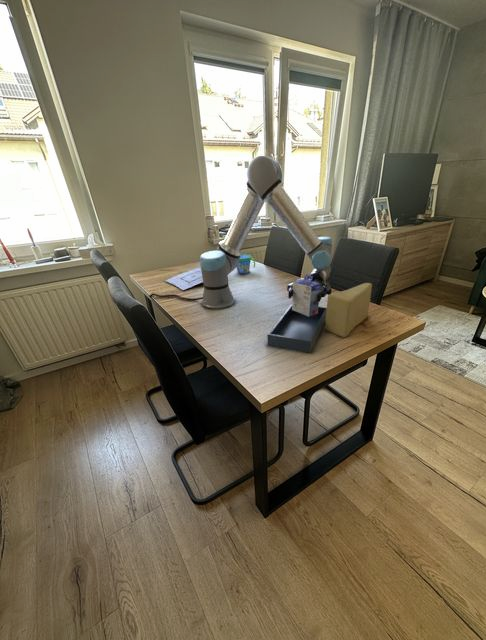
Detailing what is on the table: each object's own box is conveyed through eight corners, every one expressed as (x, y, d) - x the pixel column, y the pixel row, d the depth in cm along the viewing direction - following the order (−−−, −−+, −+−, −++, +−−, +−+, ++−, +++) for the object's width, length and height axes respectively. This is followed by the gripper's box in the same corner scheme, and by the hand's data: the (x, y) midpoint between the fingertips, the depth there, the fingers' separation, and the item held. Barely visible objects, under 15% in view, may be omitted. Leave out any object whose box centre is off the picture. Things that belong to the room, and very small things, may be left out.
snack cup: (257, 270, 180) (257, 254, 175) (252, 275, 172) (251, 258, 166) (235, 269, 184) (234, 253, 179) (229, 274, 176) (227, 257, 170)
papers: (228, 276, 167) (227, 270, 165) (184, 294, 153) (182, 288, 151) (207, 268, 183) (206, 263, 181) (166, 284, 169) (164, 279, 167)
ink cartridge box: (319, 313, 110) (321, 277, 102) (309, 317, 107) (311, 280, 99) (300, 306, 116) (302, 272, 109) (291, 310, 113) (292, 275, 106)
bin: (267, 345, 100) (267, 334, 97) (291, 312, 123) (291, 303, 121) (310, 353, 95) (311, 341, 92) (326, 317, 118) (327, 307, 115)
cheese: (355, 313, 121) (360, 279, 113) (376, 320, 114) (383, 284, 106) (323, 329, 109) (327, 293, 101) (344, 338, 102) (350, 300, 94)
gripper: (342, 290, 121) (333, 309, 103) (291, 285, 128) (275, 302, 111) (344, 272, 117) (335, 290, 99) (291, 268, 124) (274, 284, 107)
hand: (303, 296), depth 105 cm, fingers closed on ink cartridge box, 11 cm apart
